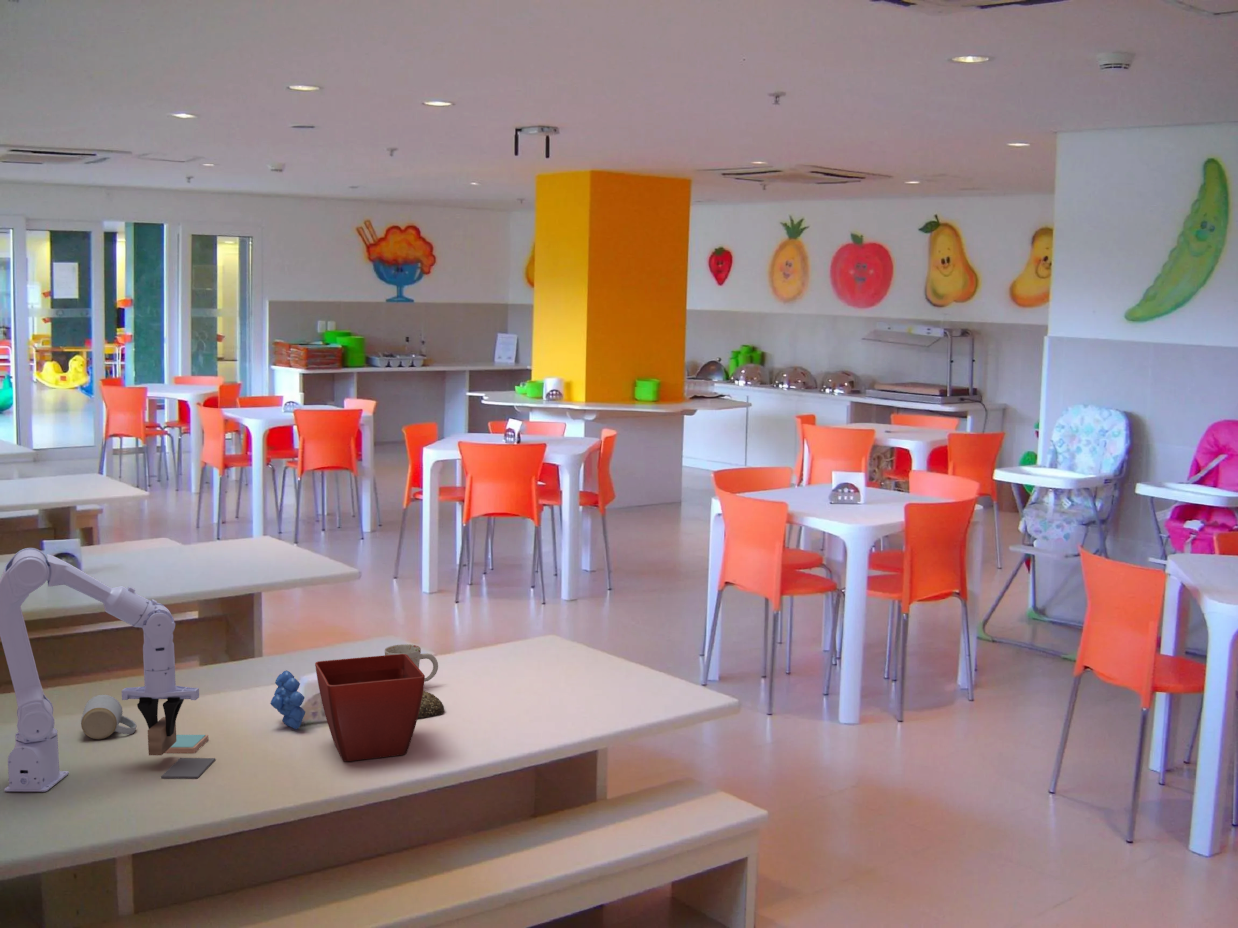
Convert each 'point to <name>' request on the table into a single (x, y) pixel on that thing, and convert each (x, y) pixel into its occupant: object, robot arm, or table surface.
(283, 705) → the grapes
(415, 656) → the mug
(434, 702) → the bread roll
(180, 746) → the picture frame
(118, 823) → the table surface
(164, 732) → the bronze rectangular prism
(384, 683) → the plant pot
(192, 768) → the mat
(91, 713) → the ceramic mug
